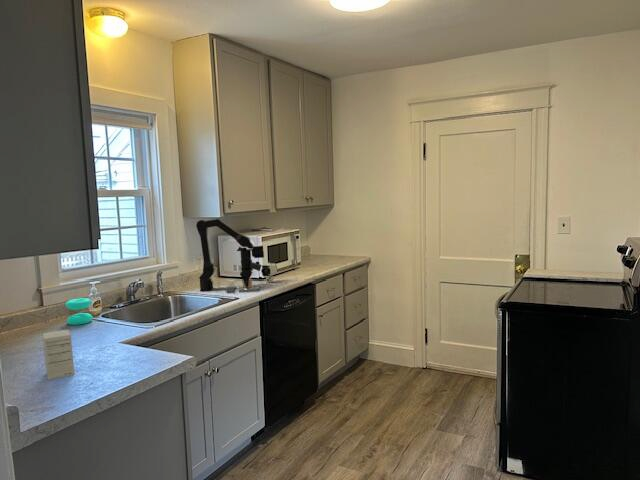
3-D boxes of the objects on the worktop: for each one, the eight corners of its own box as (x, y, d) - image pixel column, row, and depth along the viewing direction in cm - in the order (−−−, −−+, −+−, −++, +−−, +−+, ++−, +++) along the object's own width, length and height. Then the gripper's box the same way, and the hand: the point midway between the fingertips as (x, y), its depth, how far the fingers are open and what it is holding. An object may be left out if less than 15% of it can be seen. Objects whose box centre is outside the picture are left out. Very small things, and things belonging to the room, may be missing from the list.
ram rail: (226, 293, 258) (226, 287, 257) (229, 288, 271) (228, 283, 271) (232, 292, 258) (232, 287, 258) (234, 287, 272) (234, 282, 271)
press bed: (238, 292, 258) (238, 290, 258) (239, 289, 266) (239, 287, 266) (257, 291, 259) (257, 289, 259) (257, 288, 267) (257, 286, 267)
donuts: (69, 303, 199) (62, 300, 206) (71, 327, 200) (64, 323, 207) (94, 299, 206) (86, 296, 213) (96, 322, 207) (88, 318, 214)
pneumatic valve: (261, 284, 280) (260, 263, 279) (271, 280, 291) (270, 261, 290) (269, 284, 278) (268, 264, 277) (279, 280, 289) (278, 261, 288)
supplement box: (46, 373, 146) (42, 333, 145) (73, 367, 150) (69, 328, 149) (46, 380, 140) (42, 338, 139) (74, 375, 144) (71, 334, 142)
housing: (242, 288, 268) (242, 278, 267) (243, 287, 273) (242, 277, 272) (251, 288, 268) (251, 278, 268) (252, 286, 273) (251, 276, 273)
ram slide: (228, 287, 268) (227, 281, 267) (228, 286, 271) (228, 280, 271) (234, 286, 268) (233, 280, 268) (234, 285, 271) (234, 279, 271)
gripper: (259, 260, 260) (261, 288, 262) (260, 255, 279) (262, 281, 280) (239, 261, 259) (240, 289, 261) (241, 256, 278) (243, 283, 279)
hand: (247, 285), depth 270 cm, fingers closed on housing, 5 cm apart
